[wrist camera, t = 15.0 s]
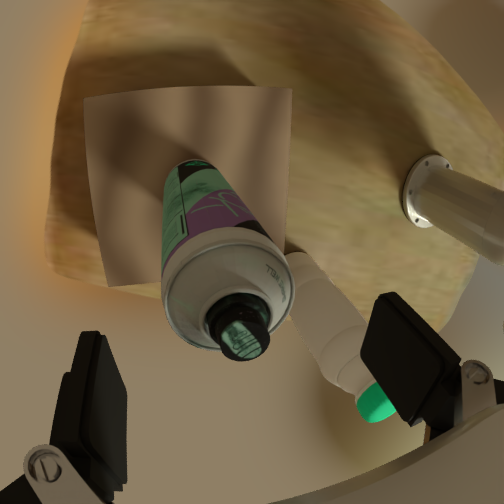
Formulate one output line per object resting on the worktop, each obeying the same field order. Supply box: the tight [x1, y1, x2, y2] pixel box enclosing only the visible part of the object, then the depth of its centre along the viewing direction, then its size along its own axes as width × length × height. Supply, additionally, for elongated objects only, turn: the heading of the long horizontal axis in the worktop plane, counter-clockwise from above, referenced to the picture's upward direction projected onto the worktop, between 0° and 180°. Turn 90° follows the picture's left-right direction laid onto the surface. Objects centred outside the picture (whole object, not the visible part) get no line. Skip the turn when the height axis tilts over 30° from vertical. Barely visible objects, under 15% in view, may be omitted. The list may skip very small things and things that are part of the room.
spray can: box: [161, 159, 295, 361], centre depth 18 cm, size 6×6×20 cm
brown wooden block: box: [83, 86, 292, 287], centre depth 31 cm, size 19×19×8 cm
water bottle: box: [285, 252, 396, 423], centre depth 33 cm, size 7×7×25 cm
